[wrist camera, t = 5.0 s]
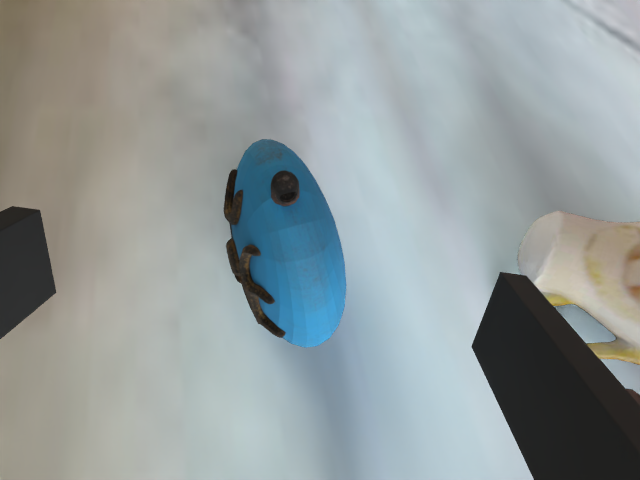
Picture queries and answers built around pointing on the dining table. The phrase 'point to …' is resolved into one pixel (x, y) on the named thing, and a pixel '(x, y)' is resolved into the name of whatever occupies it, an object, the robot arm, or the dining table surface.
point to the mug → (589, 274)
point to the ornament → (285, 245)
